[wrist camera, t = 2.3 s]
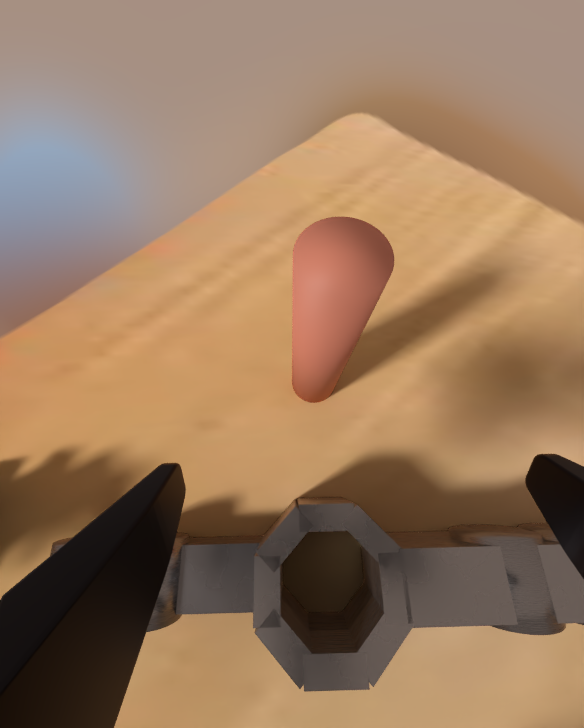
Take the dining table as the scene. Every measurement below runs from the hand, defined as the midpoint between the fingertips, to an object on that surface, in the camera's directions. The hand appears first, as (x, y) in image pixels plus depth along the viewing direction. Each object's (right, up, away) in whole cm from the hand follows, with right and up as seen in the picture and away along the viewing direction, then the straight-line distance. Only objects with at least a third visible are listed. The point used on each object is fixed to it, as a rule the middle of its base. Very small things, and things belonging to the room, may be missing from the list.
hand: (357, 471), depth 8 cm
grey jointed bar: (0, -9, +10) cm, 13 cm away
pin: (0, +1, +13) cm, 14 cm away
